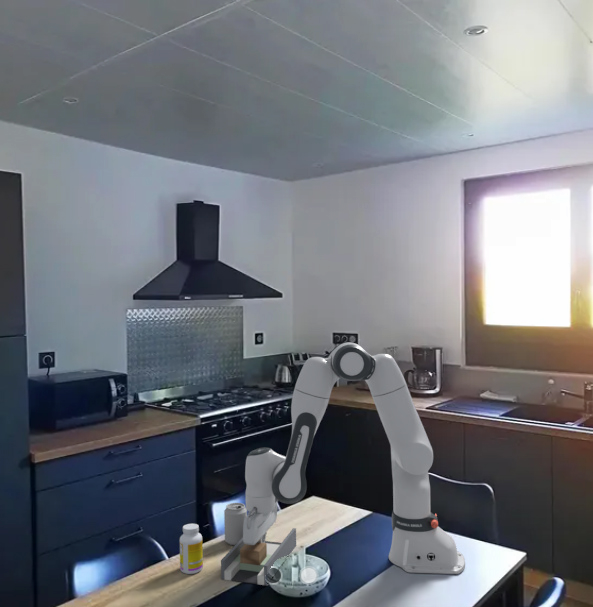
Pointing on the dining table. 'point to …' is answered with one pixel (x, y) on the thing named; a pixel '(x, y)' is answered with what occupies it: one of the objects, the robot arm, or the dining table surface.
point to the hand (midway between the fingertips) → (260, 547)
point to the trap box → (255, 573)
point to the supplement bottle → (191, 549)
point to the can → (234, 522)
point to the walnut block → (253, 553)
